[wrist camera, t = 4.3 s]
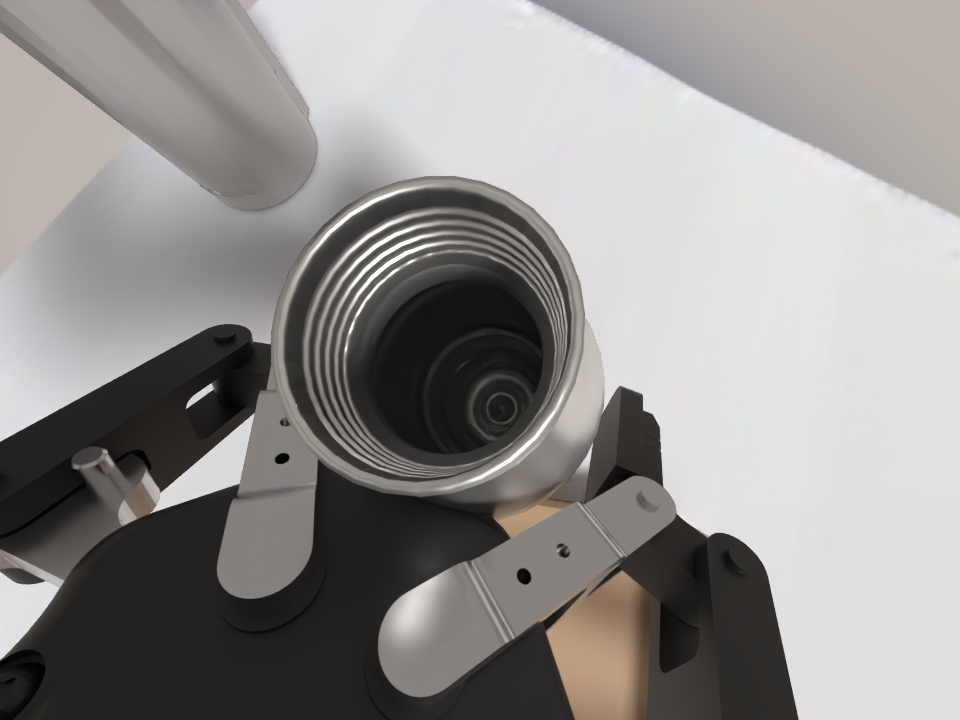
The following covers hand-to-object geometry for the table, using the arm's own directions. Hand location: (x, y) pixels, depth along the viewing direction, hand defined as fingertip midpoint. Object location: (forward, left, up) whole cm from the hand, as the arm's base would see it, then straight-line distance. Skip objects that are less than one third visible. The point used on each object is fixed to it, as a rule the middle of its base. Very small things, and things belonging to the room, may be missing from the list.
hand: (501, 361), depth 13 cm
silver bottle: (+1, 0, -11) cm, 11 cm away
